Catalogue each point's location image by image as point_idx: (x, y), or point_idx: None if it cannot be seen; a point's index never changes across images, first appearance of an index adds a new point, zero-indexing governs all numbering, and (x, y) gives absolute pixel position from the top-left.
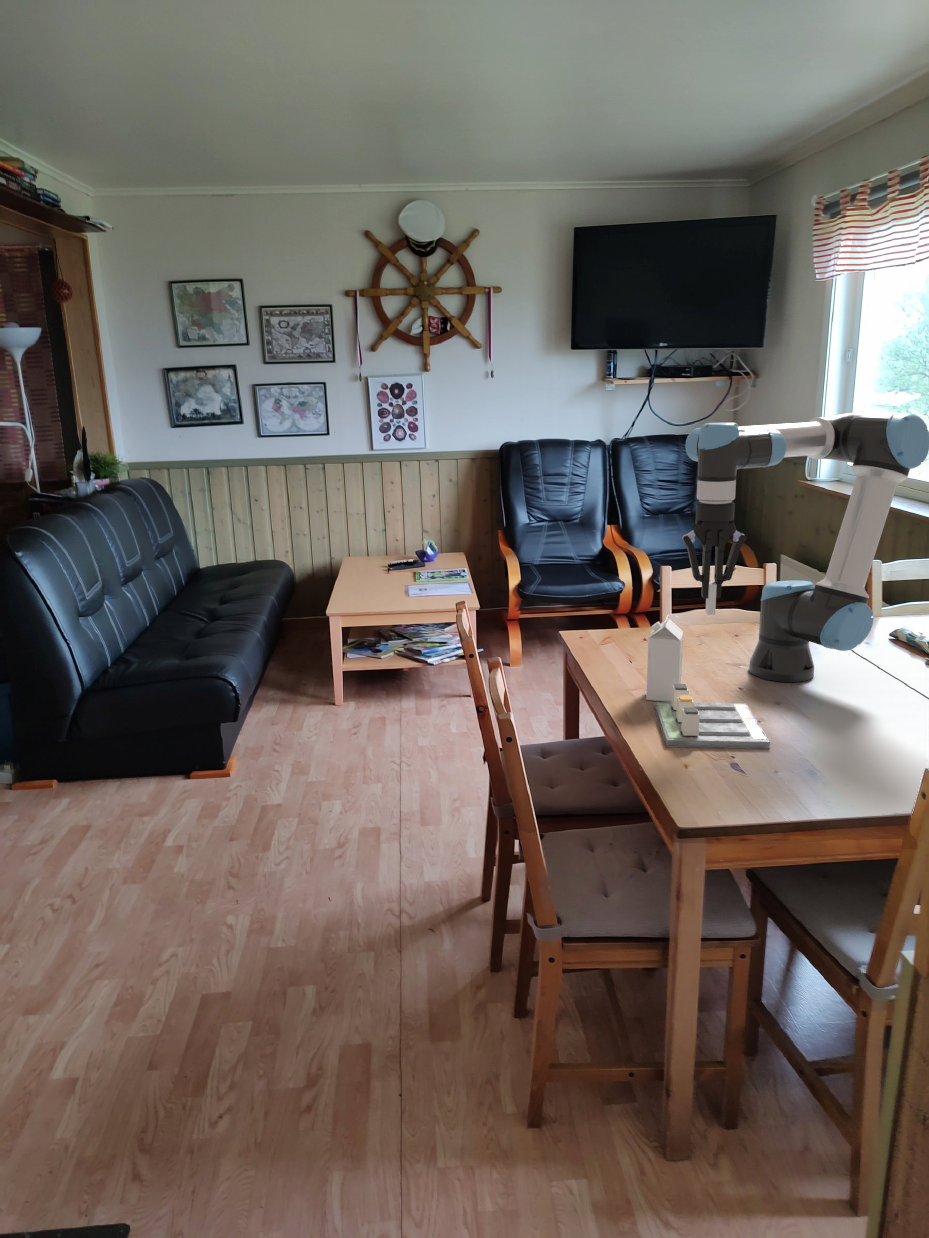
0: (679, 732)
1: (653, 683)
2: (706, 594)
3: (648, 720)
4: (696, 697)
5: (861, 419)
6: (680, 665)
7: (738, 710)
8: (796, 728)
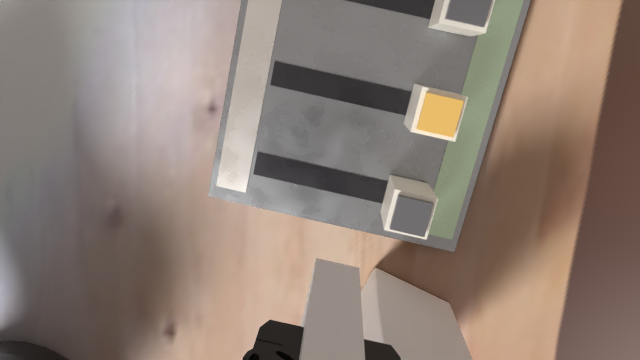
0: None
1: (442, 319)
2: (371, 358)
3: (500, 169)
4: None
5: None
6: None
7: (251, 147)
8: (133, 44)
